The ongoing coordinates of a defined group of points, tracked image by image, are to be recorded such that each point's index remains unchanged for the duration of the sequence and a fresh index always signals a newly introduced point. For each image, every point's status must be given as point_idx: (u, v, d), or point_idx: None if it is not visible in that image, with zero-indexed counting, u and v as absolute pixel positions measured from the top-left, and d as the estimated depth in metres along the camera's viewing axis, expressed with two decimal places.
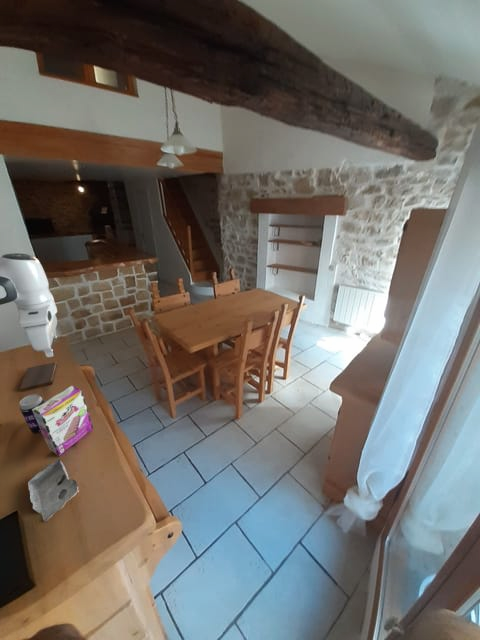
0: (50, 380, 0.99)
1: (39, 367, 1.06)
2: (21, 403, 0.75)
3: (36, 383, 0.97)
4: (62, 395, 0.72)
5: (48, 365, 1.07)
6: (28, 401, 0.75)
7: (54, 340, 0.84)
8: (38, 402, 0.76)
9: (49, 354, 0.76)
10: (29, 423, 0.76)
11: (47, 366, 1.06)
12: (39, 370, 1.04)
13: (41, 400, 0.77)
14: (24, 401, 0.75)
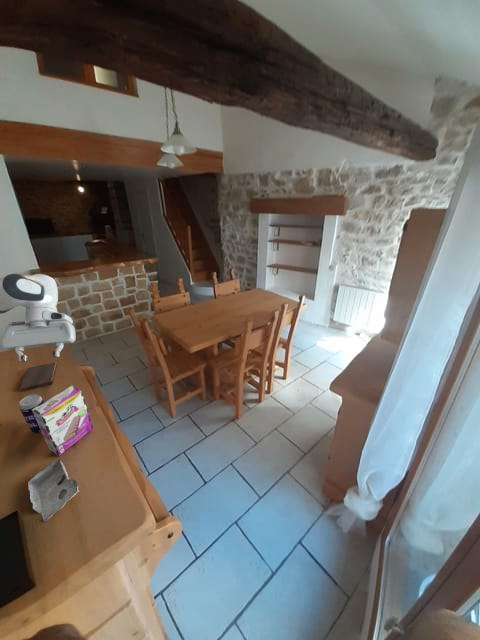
0: (50, 380, 0.99)
1: (39, 367, 1.06)
2: (21, 403, 0.75)
3: (36, 383, 0.97)
4: (62, 395, 0.72)
5: (48, 365, 1.07)
6: (28, 401, 0.75)
7: (25, 358, 0.83)
8: (38, 402, 0.76)
9: (58, 353, 0.85)
10: (29, 423, 0.76)
11: (47, 366, 1.06)
12: (39, 370, 1.04)
13: (41, 400, 0.77)
14: (24, 401, 0.75)
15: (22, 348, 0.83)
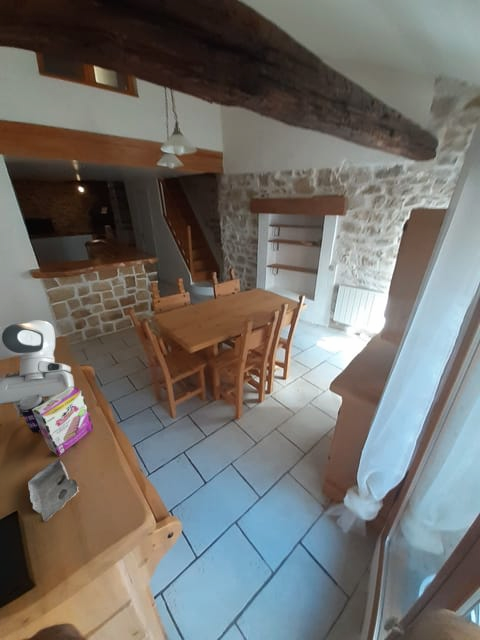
0: None
1: None
2: (21, 403, 0.75)
3: None
4: (62, 395, 0.72)
5: None
6: (28, 401, 0.75)
7: None
8: (38, 402, 0.76)
9: None
10: (29, 423, 0.76)
11: None
12: None
13: (41, 400, 0.77)
14: (24, 401, 0.75)
15: None
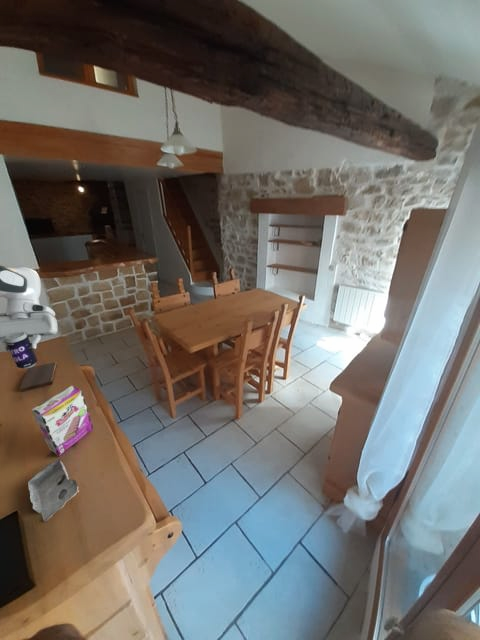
0: (50, 380, 0.99)
1: (39, 367, 1.06)
2: (7, 337, 0.81)
3: (36, 383, 0.97)
4: (62, 395, 0.72)
5: (48, 365, 1.07)
6: (13, 336, 0.82)
7: None
8: (23, 338, 0.82)
9: (35, 345, 0.85)
10: (15, 357, 0.83)
11: (47, 366, 1.06)
12: (39, 370, 1.04)
13: (26, 336, 0.84)
14: (10, 336, 0.82)
15: None
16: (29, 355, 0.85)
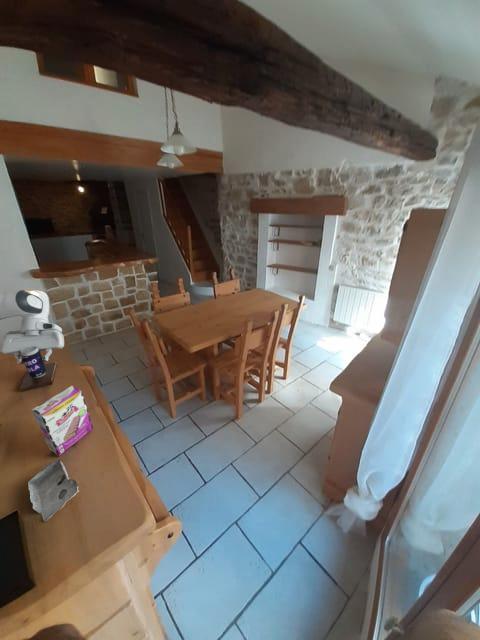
0: (50, 380, 0.99)
1: None
2: (22, 351, 0.96)
3: (36, 383, 0.97)
4: (62, 395, 0.72)
5: (48, 365, 1.07)
6: (27, 350, 0.96)
7: (23, 362, 0.98)
8: (35, 351, 0.97)
9: (47, 358, 1.00)
10: (28, 368, 0.97)
11: (47, 366, 1.06)
12: None
13: (38, 350, 0.98)
14: (24, 350, 0.96)
15: (20, 353, 0.99)
16: (40, 366, 0.99)
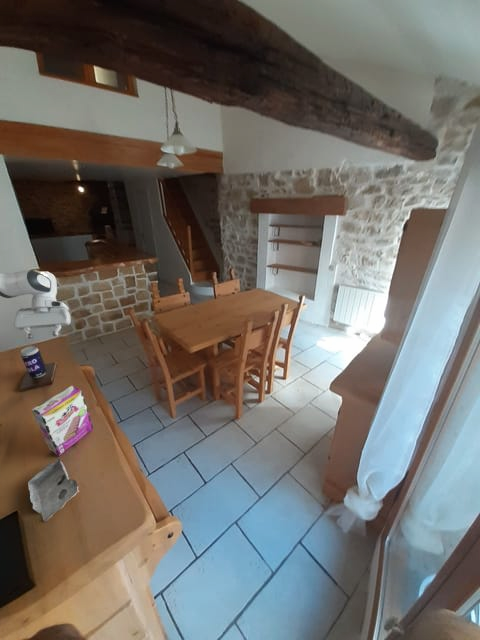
0: (50, 380, 0.99)
1: None
2: (22, 351, 0.96)
3: (36, 383, 0.97)
4: (62, 395, 0.72)
5: (48, 365, 1.07)
6: (27, 350, 0.96)
7: (32, 336, 1.07)
8: (35, 351, 0.97)
9: (57, 333, 1.09)
10: (28, 368, 0.97)
11: (47, 366, 1.06)
12: None
13: (38, 350, 0.98)
14: (24, 350, 0.96)
15: (29, 328, 1.08)
16: (40, 366, 0.99)
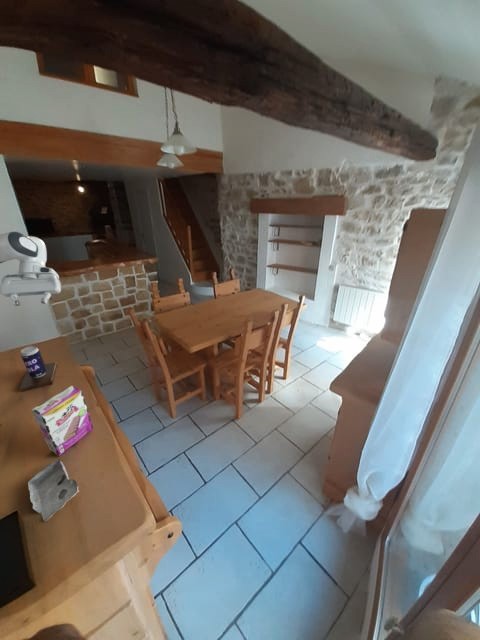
0: (50, 380, 0.99)
1: None
2: (22, 351, 0.96)
3: (36, 383, 0.97)
4: (62, 395, 0.72)
5: (48, 365, 1.07)
6: (27, 350, 0.96)
7: (19, 303, 1.00)
8: (35, 351, 0.97)
9: (46, 300, 1.03)
10: (28, 368, 0.97)
11: (47, 366, 1.06)
12: None
13: (38, 350, 0.98)
14: (24, 350, 0.96)
15: (16, 295, 1.01)
16: (40, 366, 0.99)
